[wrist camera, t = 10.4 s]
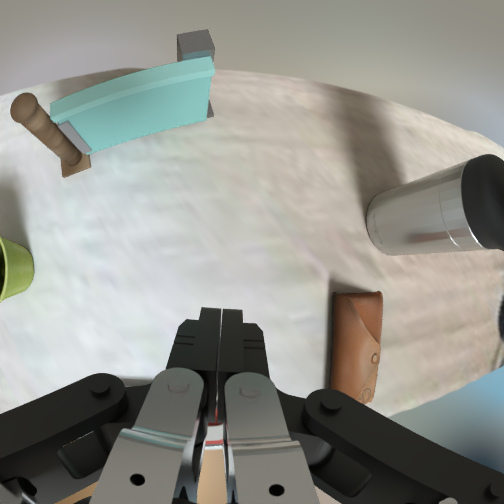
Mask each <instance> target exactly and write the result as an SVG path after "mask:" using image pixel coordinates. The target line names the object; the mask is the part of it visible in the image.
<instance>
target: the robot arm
mask: <svg viewBox="0 0 504 504" xmlns="http://www.w3.org/2000/svg"><path fill="white" fill-rule="evenodd" d="M366 219H367V229H368V233H369V235H370V238H371V240H372V242H373V243H374V245H375V246H376V247H377V248H378V249H379V250H380V251H381V252H383V253H385V254H387V255H392V256H395V255H414V254H430V253H446V252H461V251H474V250H488V249H500V250H502V251H504V161H503V160H502V159H501V158H499V157H497V156H495V155H492V154H485V155H481V156H479V157H476V158H473V159H471V160H468V161H465V162H463V163H460V164H457V165H455V166H452V167H450V168H447V169H444V170H442V171H439V172H436V173H434V174H431V175H428V176H426V177H423V178H420V179H418V180H415V181H412V182H410V183H407V184H404V185H402V186H399V187H396V188H393V189H391V190H388V191H385V192H383V193H380V194H379V195H377V196H376V197H375V198H374V199H373V200H372V201H371V203H370V205H369V207H368V210H367V217H366ZM220 329H221V338H220ZM217 383H218V397H217ZM216 399H217V423H223V454H224V466H225V477H226V487H227V504H320V502H319V499H318V496H317V493H316V490H315V487H314V485H315V486H317V487H318V488H319V489H321V490H322V491H323V492H325V493H326V494H328V495H329V496H331V497H332V498H334V499H335V500H337V501H338V502H340V503H341V504H504V474H503V473H501V472H498V471H496V470H494V469H491V468H489V467H486V466H484V465H481V464H479V463H477V462H474V461H472V460H470V459H468V458H466V457H464V456H461V455H459V454H457V453H455V452H453V451H451V450H448V449H446V448H444V447H442V446H440V445H438V444H436V443H434V442H432V441H430V440H428V439H426V438H424V437H422V436H420V435H418V434H416V433H414V432H413V431H411V430H409V429H407V428H405V427H403V426H401V425H399V424H398V423H396V422H394V421H392V420H390V419H388V418H387V417H385V416H383V415H381V414H379V413H378V412H376V411H374V410H372V409H371V408H369V407H367V406H365V405H364V404H362V403H360V402H359V401H357V400H355V399H353V398H352V397H350V396H348V395H347V394H345V393H343V392H341V391H338V390H335V389H320V390H316V391H314V392H312V393H311V394H310V395H309V396H308V397H307V398H306V399H305V398H300V397H296V396H291V395H288V394H285V393H283V392H281V391H280V390H278V389H277V388H276V387H275V385H274V383H273V382H272V381H271V380H270V376H269V370H268V363H267V356H266V350H265V343H264V336H263V331H262V330H261V329H260V328H259V326H258V325H257V324H255V323H243V313H242V310H237V309H223V313H222V325H221V309H219V308H205V307H202V308H201V313H200V317H199V320H190V319H186V320H185V321H184V322H183V323H182V324H181V325H180V326H179V327H178V330H177V334H176V337H175V340H174V344H173V346H172V350H171V353H170V356H169V360H168V363H167V366H166V370H164V371H162V372H160V373H159V374H158V375H157V376H156V377H155V378H154V380H153V383H151V384H149V385H145V386H136V387H125V386H124V384H123V382H122V381H121V380H120V379H119V378H118V377H116V376H114V375H111V374H107V373H98V374H93V375H90V376H88V377H85V378H83V379H81V380H79V381H77V382H74V383H72V384H70V385H68V386H66V387H63V388H61V389H59V390H56V391H54V392H52V393H50V394H47V395H45V396H43V397H40V398H38V399H36V400H33V401H31V402H29V403H26V404H24V405H21V406H19V407H17V408H14V409H12V410H9V411H7V412H4V413H2V414H0V504H54V503H56V502H58V501H60V500H62V499H64V498H66V497H68V496H70V495H72V494H74V493H76V492H78V491H80V490H82V489H84V488H86V487H87V486H89V485H91V484H93V483H95V482H97V481H98V483H97V485H96V488H95V490H94V493H93V495H92V496H89V497H87V498H84V499H82V500H80V501H78V502H76V503H74V504H197V489H198V482H199V477H200V471H201V465H202V460H203V454H204V449H205V443H206V436H207V431H208V422H209V423H215V415H216ZM92 431H93V432H92ZM90 432H91V433H90ZM88 433H89V434H88ZM86 434H87V435H86ZM84 435H85V436H84ZM82 436H83V437H82ZM73 441H74V442H73ZM71 442H72V443H71ZM69 443H70V444H69ZM67 444H68V445H67Z"/></svg>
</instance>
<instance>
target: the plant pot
mask: <svg viewBox="0 0 504 504" xmlns="http://www.w3.org/2000/svg"><path fill="white" fill-rule="evenodd" d="M33 277H34V268H33V259H32V256H31V254H30V253H29V251H28V250H27V249H26V248H25V247H23V246H21V245H18V244H16V243H14V242H11V241H9V240H7V239H5V238H3V237H1V236H0V303H1V302H2V301H3V300H4V299H6V298H9V297H11V296H13V295H16V294H18V293H21V292H23V291H25V290H26V289H27V288H28V287H29V286H30V284H31V283H32V280H33Z"/></svg>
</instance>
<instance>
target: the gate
mask: <svg viewBox="0 0 504 504" xmlns="http://www.w3.org/2000/svg"><path fill="white" fill-rule="evenodd" d="M214 74H215V68H214V64H213V61H212V58H211V56H208V57H202V58H196V59H191V60H185V61H180V62H176V63H171V64H167V65H162V66H158V67H154V68H150V69H146V70H142V71H138V72H135V73H131V74H128V75H125V76H121V77H118V78H115V79H112V80H109V81H106V82H103V83H100V84H97V85H94V86H92V87H89V88H86V89H84V90H81V91H79V92H76V93H74V94H71V95H69V96H66V97H64V98H62V99H59V100H57V101H55V102H53V103H50V119H51V120H52V121H53V122H54V123H55V122H58V127H59V129H60V130H61V131H62V132H63V133H64V134H65V135H66V136H67V137H68V138H69V139H70V141H71V142H72V143H73V144H74V145H75V146H76V147H77V148H78V149H79V150H80V151H81V152H82V153H83V154H85V153H86V154H87V155H89V154H91V153H94V152H97V151H100V150H102V149H105V148H108V147H111V146H114V145H117V144H120V143H123V142H126V141H129V140H133V139H136V138H139V137H143V136H146V135H149V134H153V133H157V132H160V131H164V130H168V129H172V128H176V127H180V126H184V125H188V124H192V123H197V122H201V121H206V119H207V110H208V101H209V92H210V84H211V77H212V76H214Z"/></svg>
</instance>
